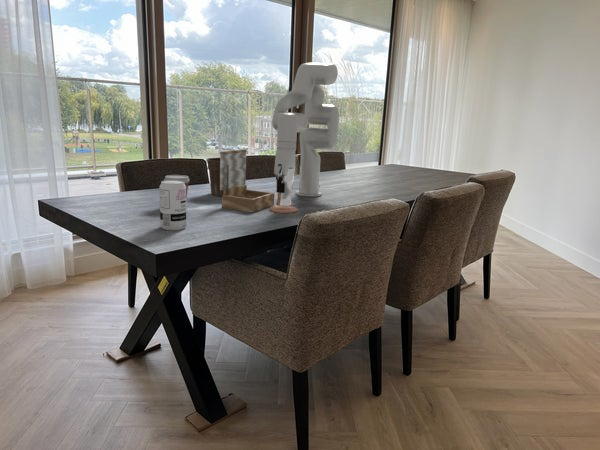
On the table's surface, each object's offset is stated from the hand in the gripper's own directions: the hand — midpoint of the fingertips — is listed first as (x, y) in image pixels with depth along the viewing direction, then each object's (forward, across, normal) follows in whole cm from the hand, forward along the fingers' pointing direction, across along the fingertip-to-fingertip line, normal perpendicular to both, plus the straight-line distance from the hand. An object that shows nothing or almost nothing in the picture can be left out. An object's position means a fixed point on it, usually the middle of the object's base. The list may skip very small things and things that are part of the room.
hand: (284, 191), depth 178 cm
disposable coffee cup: (+8, +21, -36) cm, 43 cm away
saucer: (+8, 0, 0) cm, 8 cm away
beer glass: (+6, 0, 0) cm, 6 cm away
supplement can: (+8, +46, -17) cm, 50 cm away
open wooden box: (+8, +2, -15) cm, 17 cm away
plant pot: (+8, -13, -37) cm, 40 cm away
